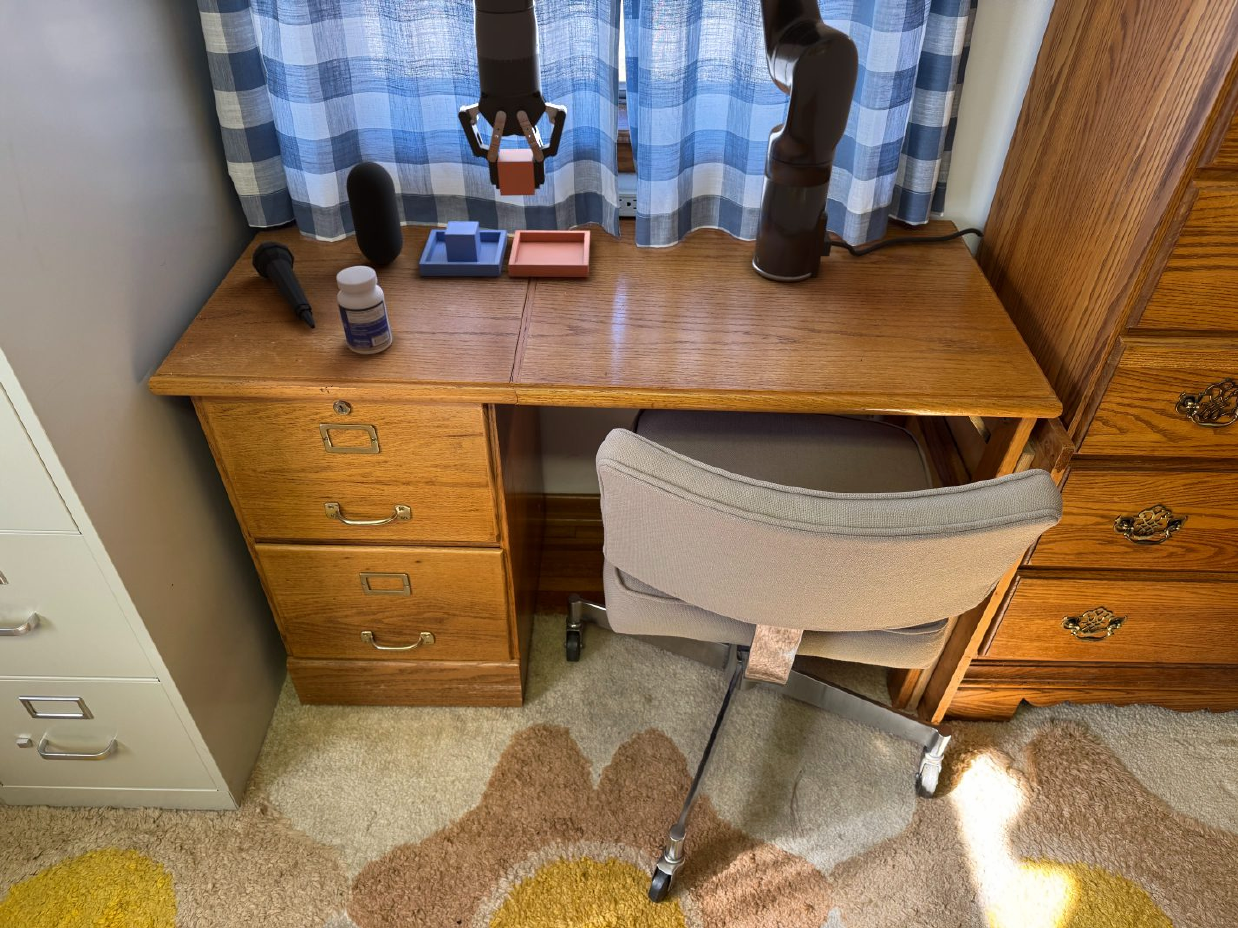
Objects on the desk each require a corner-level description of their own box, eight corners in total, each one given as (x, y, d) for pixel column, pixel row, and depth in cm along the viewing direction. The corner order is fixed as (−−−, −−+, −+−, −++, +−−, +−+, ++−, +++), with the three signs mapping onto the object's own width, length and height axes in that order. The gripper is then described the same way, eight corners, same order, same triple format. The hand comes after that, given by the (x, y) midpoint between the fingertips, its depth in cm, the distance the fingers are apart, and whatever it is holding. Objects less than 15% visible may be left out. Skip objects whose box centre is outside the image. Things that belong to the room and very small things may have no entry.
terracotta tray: (590, 242, 134) (590, 230, 132) (588, 277, 125) (588, 265, 123) (516, 241, 133) (515, 230, 132) (509, 276, 125) (508, 264, 123)
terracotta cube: (536, 182, 115) (534, 148, 112) (534, 195, 111) (532, 161, 108) (503, 182, 115) (500, 149, 112) (500, 196, 111) (497, 161, 108)
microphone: (330, 344, 115) (284, 269, 126) (336, 308, 112) (288, 234, 123) (289, 345, 112) (245, 268, 123) (294, 308, 109) (249, 231, 120)
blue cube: (481, 249, 130) (478, 221, 127) (477, 262, 127) (474, 234, 124) (451, 249, 130) (448, 221, 127) (447, 262, 127) (443, 234, 124)
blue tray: (507, 241, 133) (506, 230, 132) (499, 276, 125) (498, 264, 123) (433, 240, 133) (431, 229, 132) (420, 275, 124) (418, 264, 123)
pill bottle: (351, 333, 112) (336, 264, 106) (395, 331, 112) (382, 262, 106) (344, 357, 108) (328, 286, 101) (390, 355, 108) (376, 285, 102)
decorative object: (407, 269, 126) (390, 170, 116) (361, 274, 125) (341, 173, 115) (405, 250, 131) (389, 152, 121) (361, 254, 129) (341, 156, 120)
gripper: (443, 57, 99) (461, 199, 110) (566, 56, 99) (572, 198, 110) (451, 40, 104) (468, 176, 116) (568, 39, 105) (573, 175, 116)
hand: (518, 186), depth 113 cm, fingers closed on terracotta cube, 4 cm apart
